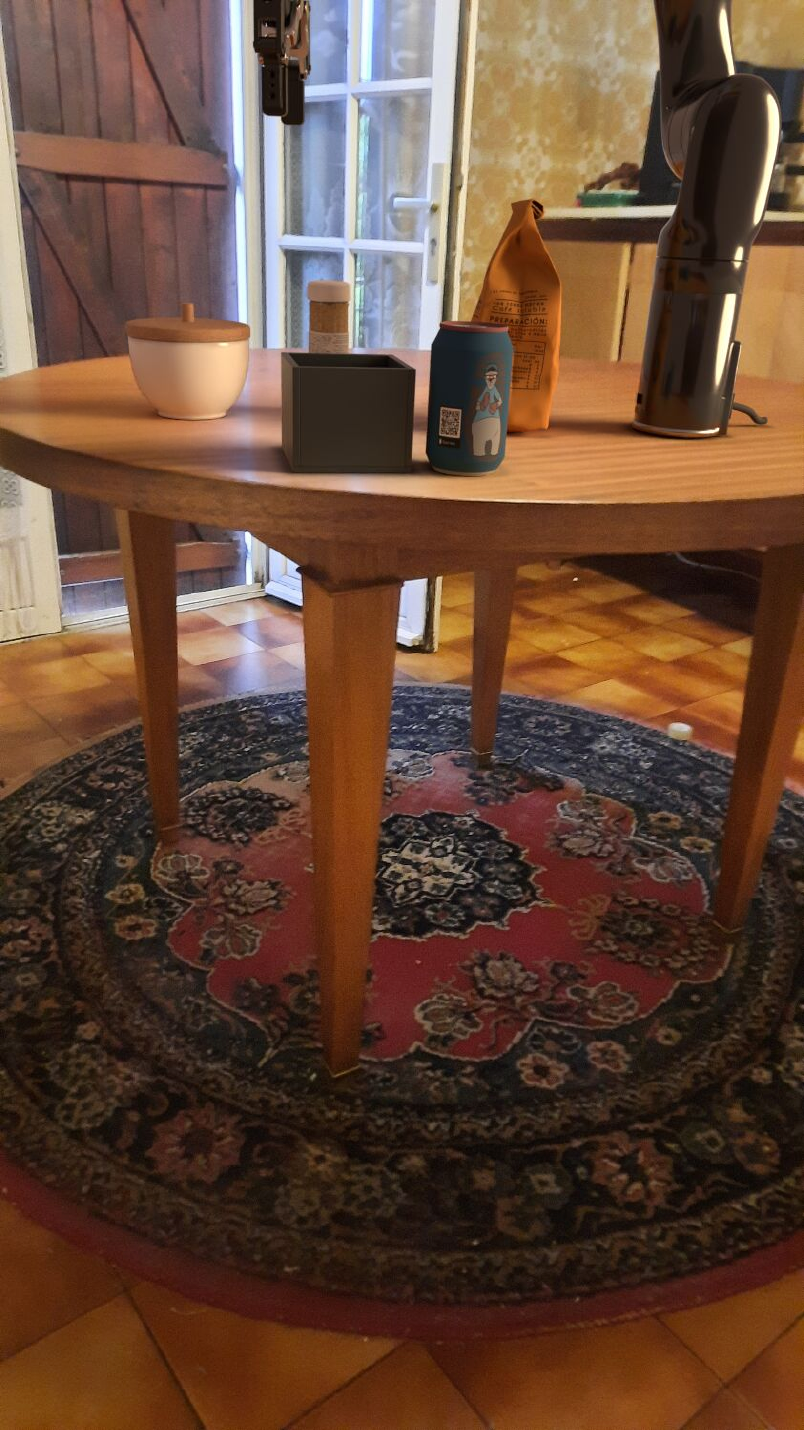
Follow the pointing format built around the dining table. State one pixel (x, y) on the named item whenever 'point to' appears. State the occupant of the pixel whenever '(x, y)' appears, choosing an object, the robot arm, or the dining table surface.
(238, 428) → the dining table surface
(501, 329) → the soda can
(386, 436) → the storage bin
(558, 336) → the coffee package
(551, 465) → the dining table surface
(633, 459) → the dining table surface
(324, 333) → the sprinkles bottle
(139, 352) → the lidded bowl
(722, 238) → the robot arm
